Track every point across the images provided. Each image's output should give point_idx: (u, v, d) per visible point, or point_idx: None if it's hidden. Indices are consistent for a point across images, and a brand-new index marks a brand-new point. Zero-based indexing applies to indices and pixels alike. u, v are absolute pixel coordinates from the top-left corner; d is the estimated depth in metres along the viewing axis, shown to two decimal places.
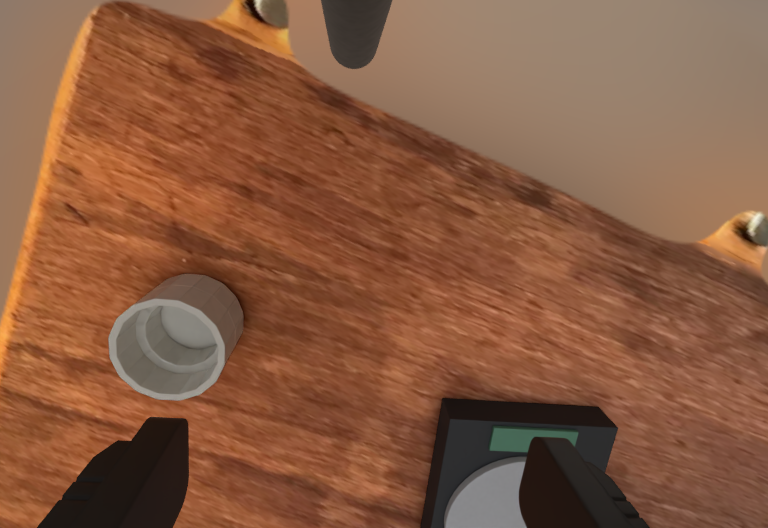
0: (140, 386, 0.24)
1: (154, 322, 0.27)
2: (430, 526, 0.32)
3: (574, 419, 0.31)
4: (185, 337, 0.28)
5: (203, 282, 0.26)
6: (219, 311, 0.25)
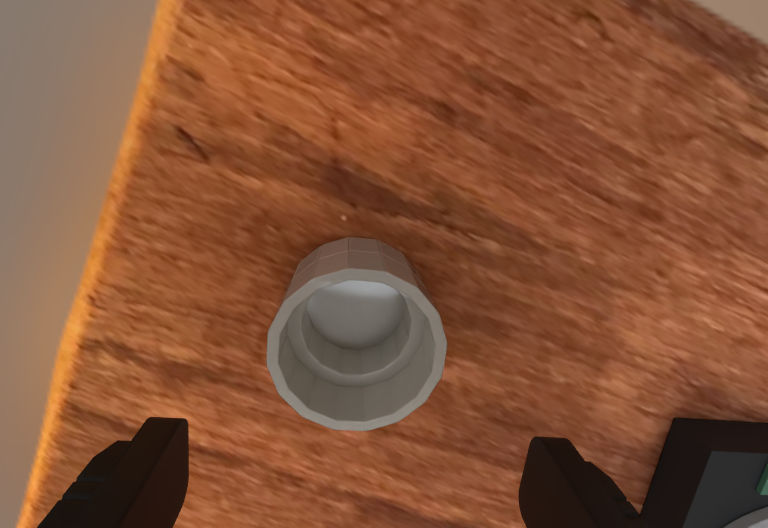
0: (308, 409, 0.15)
1: (305, 309, 0.18)
2: None
3: None
4: (339, 332, 0.19)
5: (385, 248, 0.17)
6: (426, 291, 0.16)
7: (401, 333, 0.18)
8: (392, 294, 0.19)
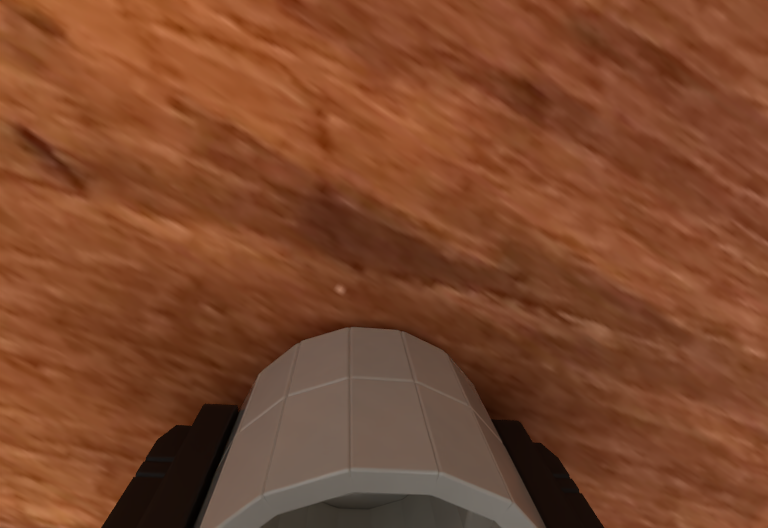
0: None
1: None
2: None
3: None
4: None
5: (418, 357, 0.09)
6: (511, 466, 0.08)
7: None
8: None
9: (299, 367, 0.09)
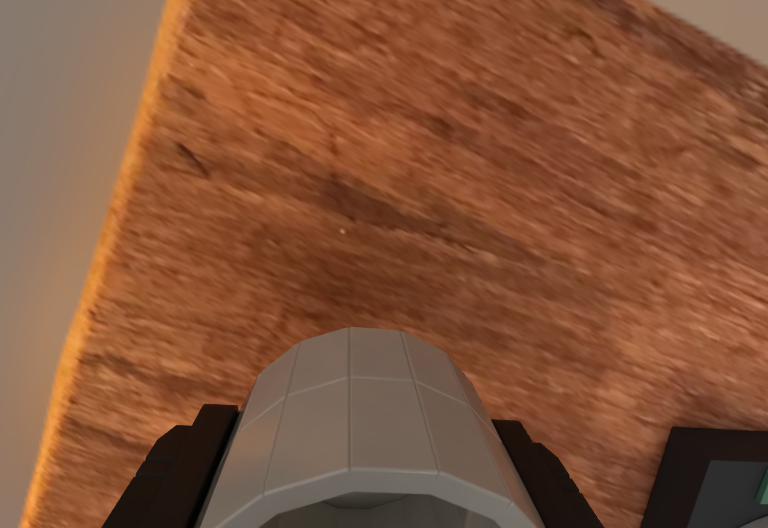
0: None
1: None
2: None
3: None
4: None
5: (418, 357, 0.09)
6: (510, 466, 0.08)
7: None
8: None
9: (299, 367, 0.09)
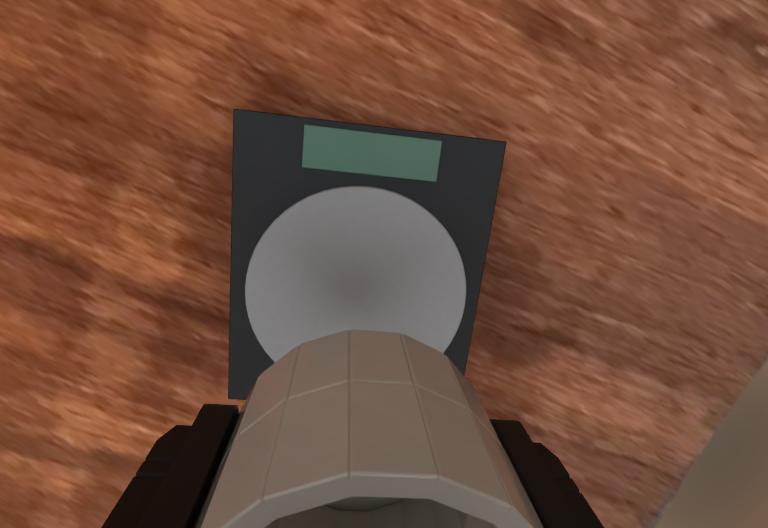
0: None
1: None
2: (230, 308, 0.21)
3: None
4: None
5: (418, 360, 0.09)
6: (510, 469, 0.08)
7: None
8: None
9: (299, 370, 0.09)
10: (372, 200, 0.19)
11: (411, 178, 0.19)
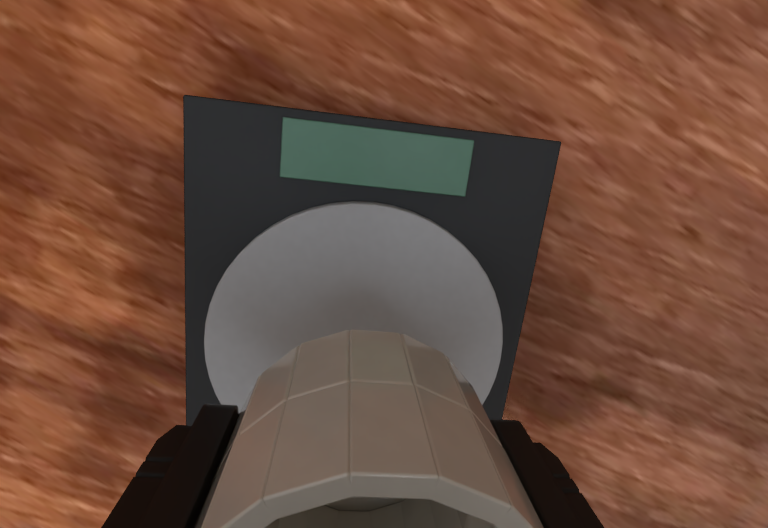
0: None
1: None
2: None
3: None
4: None
5: (418, 360, 0.09)
6: (510, 469, 0.08)
7: None
8: None
9: (299, 370, 0.09)
10: (377, 222, 0.14)
11: (431, 191, 0.14)
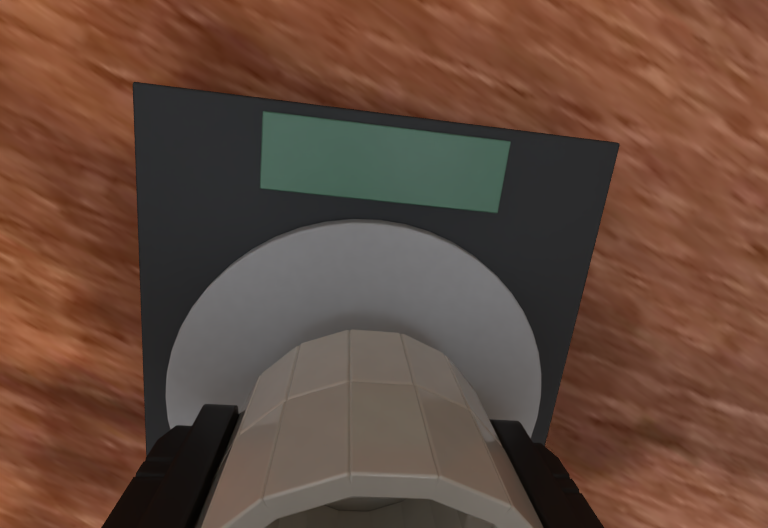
0: None
1: None
2: None
3: None
4: None
5: (418, 360, 0.09)
6: (510, 469, 0.08)
7: None
8: None
9: (299, 370, 0.09)
10: (386, 246, 0.11)
11: (454, 207, 0.11)
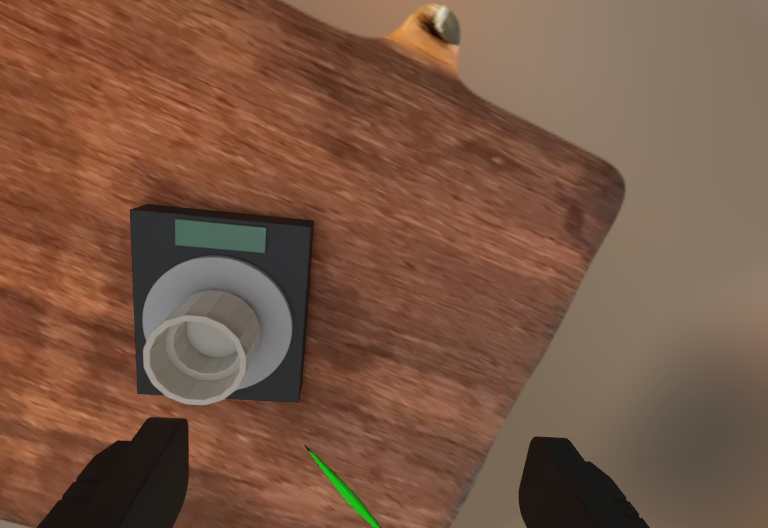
0: (170, 392, 0.27)
1: (180, 334, 0.29)
2: None
3: (271, 221, 0.31)
4: (207, 347, 0.31)
5: (225, 298, 0.29)
6: (240, 325, 0.27)
7: None
8: None
9: (186, 301, 0.29)
10: (222, 265, 0.30)
11: (248, 250, 0.30)
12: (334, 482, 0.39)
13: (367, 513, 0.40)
